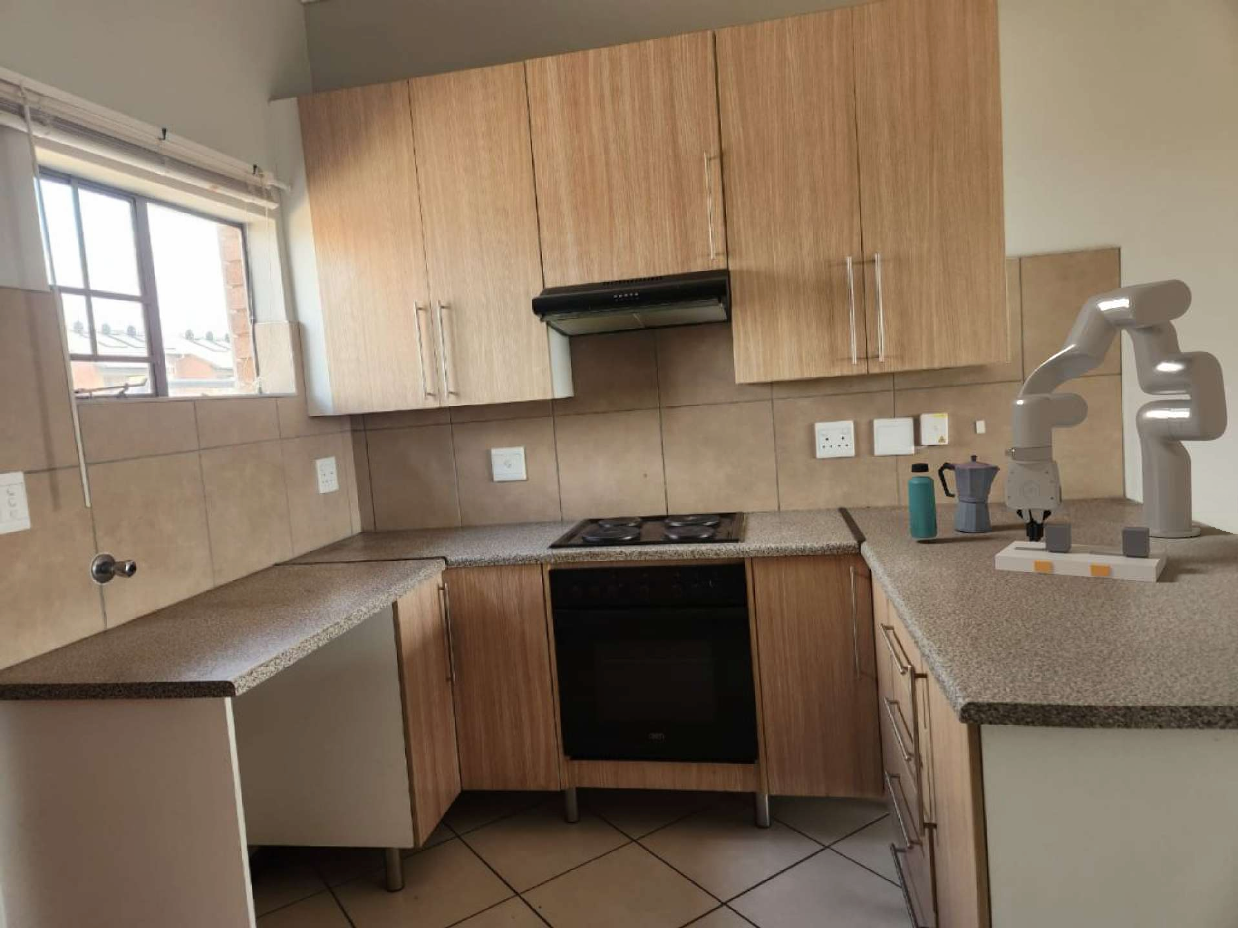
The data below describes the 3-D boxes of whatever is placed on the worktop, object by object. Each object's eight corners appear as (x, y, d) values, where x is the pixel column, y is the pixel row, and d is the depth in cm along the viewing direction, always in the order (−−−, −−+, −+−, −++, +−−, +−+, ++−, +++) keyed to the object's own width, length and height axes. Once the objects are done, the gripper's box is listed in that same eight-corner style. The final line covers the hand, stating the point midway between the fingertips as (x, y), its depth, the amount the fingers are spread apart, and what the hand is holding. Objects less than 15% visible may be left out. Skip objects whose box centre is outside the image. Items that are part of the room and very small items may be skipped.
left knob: (1050, 546, 166) (1049, 523, 165) (1071, 547, 163) (1070, 524, 163) (1045, 550, 163) (1044, 526, 162) (1067, 551, 160) (1066, 527, 160)
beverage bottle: (940, 543, 192) (936, 463, 191) (912, 544, 194) (908, 465, 192) (935, 538, 199) (931, 461, 197) (907, 539, 200) (904, 462, 198)
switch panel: (1015, 553, 176) (1015, 540, 176) (1166, 563, 158) (1165, 548, 157) (995, 569, 164) (994, 554, 164) (1155, 582, 145) (1155, 565, 145)
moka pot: (1001, 534, 198) (998, 456, 196) (936, 532, 206) (933, 457, 204) (1005, 527, 206) (1002, 452, 204) (943, 526, 214) (939, 454, 212)
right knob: (1125, 550, 157) (1125, 526, 156) (1149, 552, 154) (1149, 527, 154) (1122, 554, 154) (1122, 530, 153) (1146, 556, 151) (1146, 531, 151)
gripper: (989, 457, 166) (992, 541, 168) (1068, 456, 156) (1071, 546, 158) (999, 453, 172) (1002, 535, 173) (1076, 452, 162) (1078, 539, 164)
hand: (1035, 540), depth 166 cm, fingers closed
